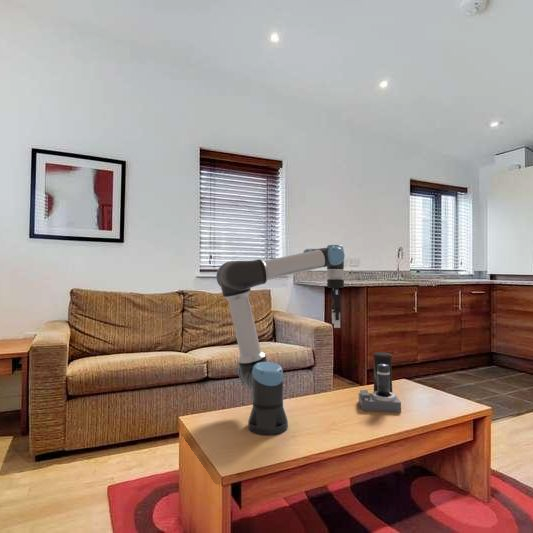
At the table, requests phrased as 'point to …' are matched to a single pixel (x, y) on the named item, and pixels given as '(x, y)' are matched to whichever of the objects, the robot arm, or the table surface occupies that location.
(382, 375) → the lens
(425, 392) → the table surface
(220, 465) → the table surface
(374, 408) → the camera body
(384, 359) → the container
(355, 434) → the table surface
